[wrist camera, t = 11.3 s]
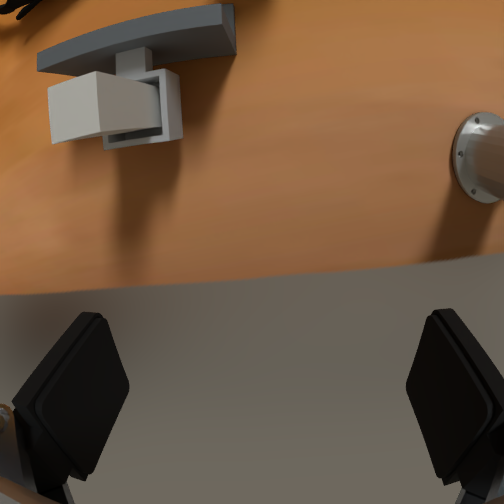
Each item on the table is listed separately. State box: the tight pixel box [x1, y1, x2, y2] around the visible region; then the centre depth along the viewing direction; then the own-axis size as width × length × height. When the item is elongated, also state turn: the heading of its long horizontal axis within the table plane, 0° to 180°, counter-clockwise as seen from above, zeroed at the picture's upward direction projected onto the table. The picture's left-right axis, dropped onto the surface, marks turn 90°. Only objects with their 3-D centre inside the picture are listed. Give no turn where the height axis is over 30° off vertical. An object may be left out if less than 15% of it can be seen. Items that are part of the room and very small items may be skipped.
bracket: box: [37, 3, 237, 150], centre depth 26 cm, size 18×16×12 cm
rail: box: [48, 71, 162, 144], centre depth 23 cm, size 4×4×14 cm
